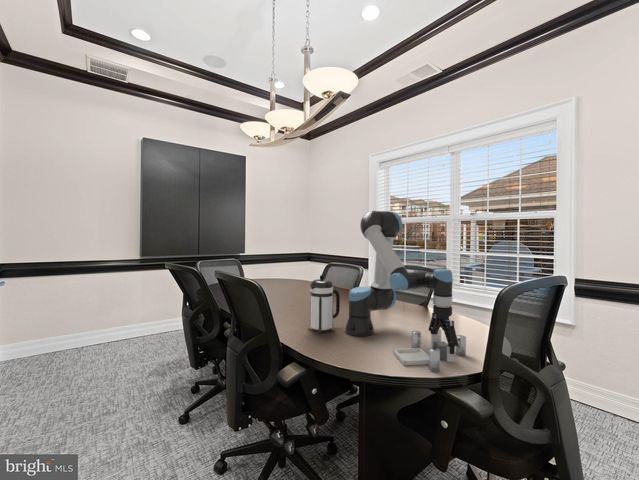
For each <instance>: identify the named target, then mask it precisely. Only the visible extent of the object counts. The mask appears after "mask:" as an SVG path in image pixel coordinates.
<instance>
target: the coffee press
mask: <svg viewBox="0 0 639 480" xmlns="http://www.w3.org/2000/svg"><path fill="white" fill-rule="evenodd" d="M334 286H335V285H334V283H333V281H331V280H330V279H328V278H327V279H326V278H325V276H324V275H322V274H320V276H319V278H318V279H313V280H312V281H311V283H310V284H309V287H310V288H309V292H310V293H309V295H310V296H309V307H310V308H309V321H310V322H309V326H308V327H307V329H308V330H309V331H310V330H311V329H313V330H316V331H318V335H322V332H323V331H328V330H332V331H336V327H335V326H334V319H336V318H337V317H338V316H339V314H340V308H341V307H340V304H341V303H340V302H341V301H340V297H341V296H340V292H339V291H338V290H336V289H334ZM334 294H335V299H336V300H335V312H334ZM309 327H310V328H309ZM332 327H333V328H332Z"/></svg>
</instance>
